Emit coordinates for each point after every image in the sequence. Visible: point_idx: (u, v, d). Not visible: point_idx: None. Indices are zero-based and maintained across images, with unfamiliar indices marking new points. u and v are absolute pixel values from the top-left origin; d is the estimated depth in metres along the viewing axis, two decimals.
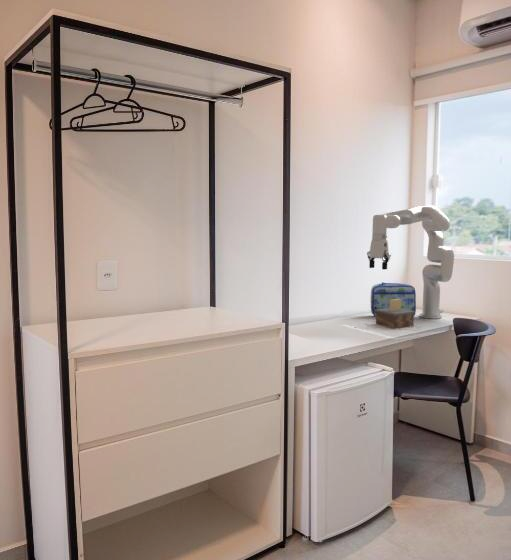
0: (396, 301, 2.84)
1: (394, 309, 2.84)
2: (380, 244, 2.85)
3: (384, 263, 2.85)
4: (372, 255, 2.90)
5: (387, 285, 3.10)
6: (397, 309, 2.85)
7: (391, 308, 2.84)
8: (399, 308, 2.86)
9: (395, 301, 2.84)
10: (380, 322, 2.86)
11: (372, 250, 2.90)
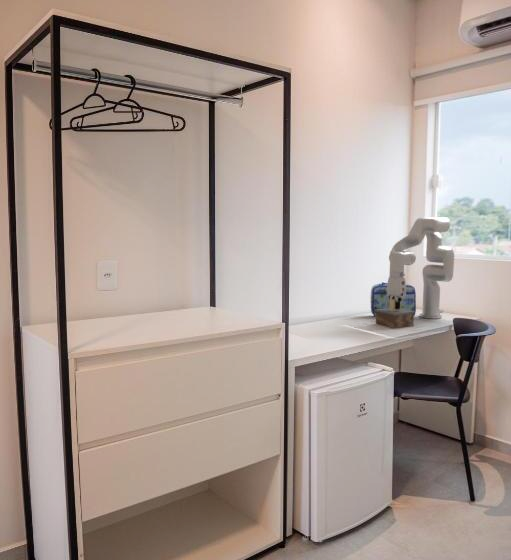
0: None
1: (394, 309, 2.84)
2: (397, 282, 2.81)
3: (397, 303, 2.83)
4: (389, 292, 2.86)
5: None
6: (397, 309, 2.85)
7: (391, 308, 2.84)
8: None
9: (395, 301, 2.84)
10: (380, 322, 2.86)
11: (389, 287, 2.86)
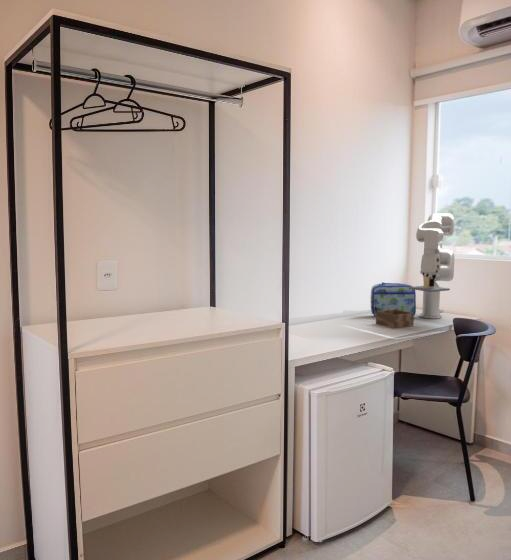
0: (430, 278, 2.85)
1: (428, 286, 2.85)
2: (432, 259, 2.81)
3: (431, 280, 2.84)
4: (423, 270, 2.87)
5: (387, 285, 3.10)
6: (431, 286, 2.86)
7: (425, 286, 2.85)
8: None
9: (429, 278, 2.85)
10: (380, 322, 2.86)
11: (423, 265, 2.86)
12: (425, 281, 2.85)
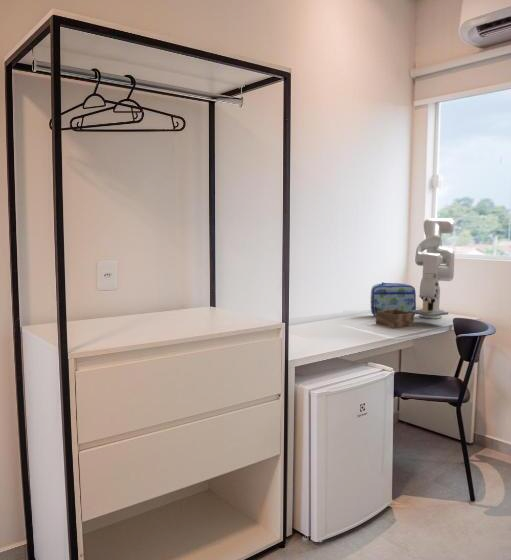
0: None
1: (427, 310, 2.86)
2: (431, 283, 2.83)
3: (430, 304, 2.85)
4: (422, 294, 2.88)
5: (387, 285, 3.10)
6: (430, 310, 2.87)
7: (424, 310, 2.86)
8: None
9: (428, 302, 2.86)
10: (380, 322, 2.86)
11: (422, 289, 2.88)
12: (424, 305, 2.86)
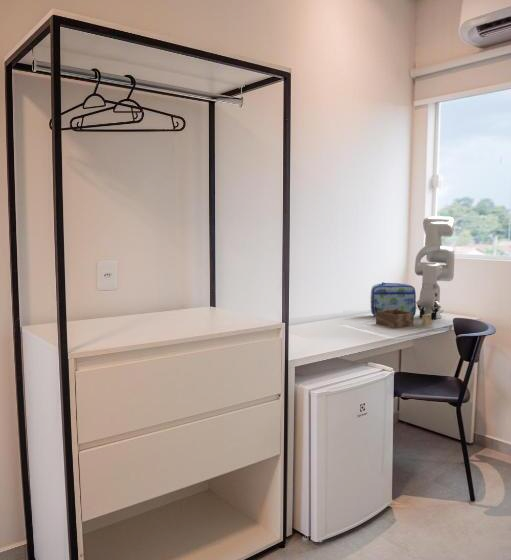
0: (428, 316, 2.87)
1: (426, 324, 2.87)
2: (430, 293, 2.84)
3: (433, 314, 2.84)
4: (422, 304, 2.89)
5: (387, 285, 3.10)
6: (429, 324, 2.89)
7: (423, 324, 2.88)
8: (431, 323, 2.89)
9: (427, 316, 2.87)
10: (380, 322, 2.86)
11: (422, 299, 2.89)
12: (423, 319, 2.88)
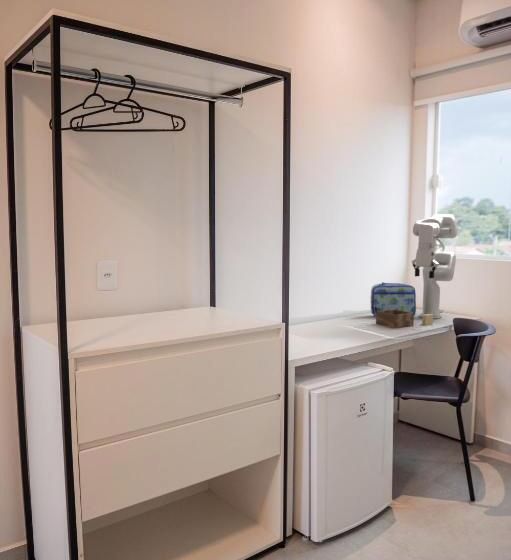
0: (428, 316, 2.87)
1: (426, 324, 2.87)
2: (427, 253, 2.85)
3: (431, 272, 2.86)
4: (418, 264, 2.91)
5: (387, 285, 3.10)
6: (429, 324, 2.89)
7: (424, 324, 2.88)
8: (431, 323, 2.89)
9: (427, 316, 2.87)
10: (380, 322, 2.86)
11: (418, 259, 2.90)
12: (423, 319, 2.88)
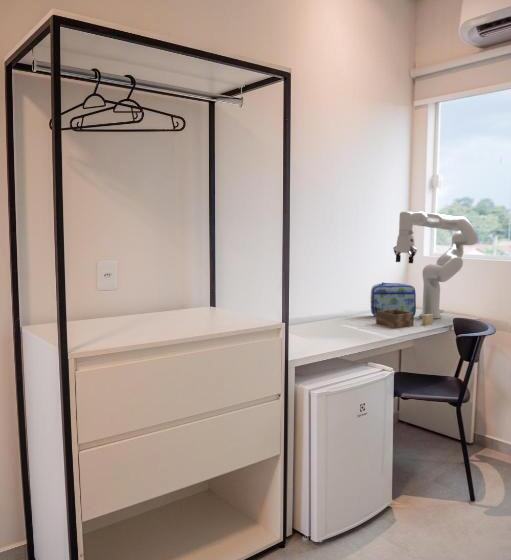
0: (428, 316, 2.87)
1: (426, 324, 2.87)
2: (406, 239, 3.01)
3: (410, 257, 3.01)
4: (399, 250, 3.06)
5: (387, 285, 3.10)
6: (429, 324, 2.89)
7: (424, 324, 2.88)
8: (431, 323, 2.89)
9: (427, 316, 2.87)
10: (380, 322, 2.86)
11: (399, 245, 3.06)
12: (423, 319, 2.88)
